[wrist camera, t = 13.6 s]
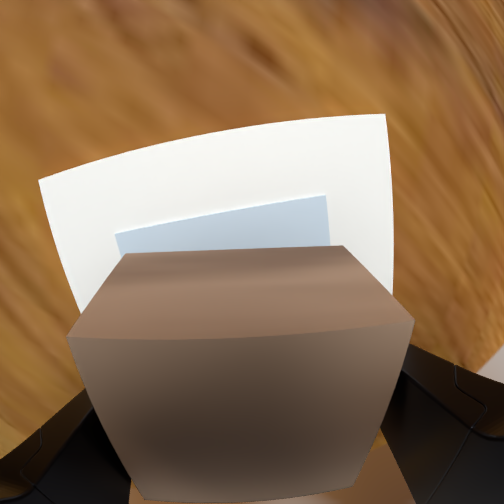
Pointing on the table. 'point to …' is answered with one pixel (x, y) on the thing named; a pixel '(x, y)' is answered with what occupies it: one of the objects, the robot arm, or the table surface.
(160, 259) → the walnut block
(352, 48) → the table surface
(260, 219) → the white square frame
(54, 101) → the table surface
